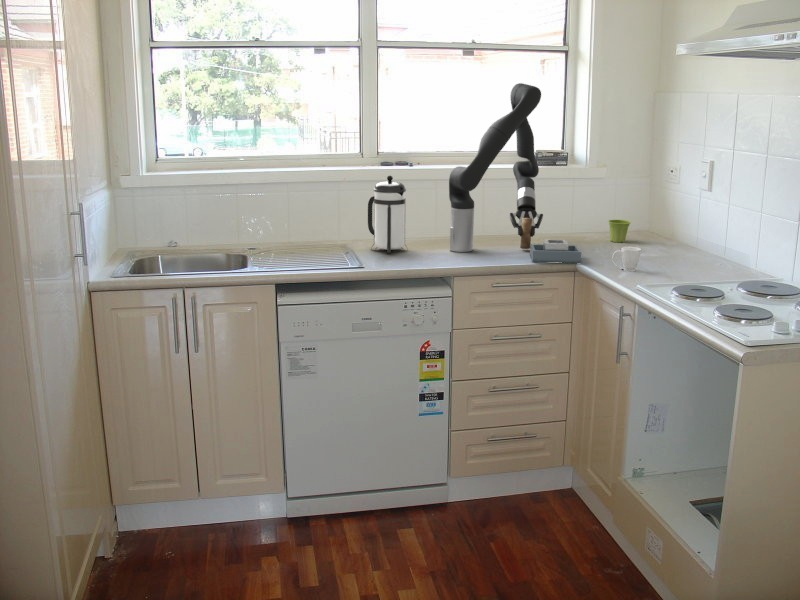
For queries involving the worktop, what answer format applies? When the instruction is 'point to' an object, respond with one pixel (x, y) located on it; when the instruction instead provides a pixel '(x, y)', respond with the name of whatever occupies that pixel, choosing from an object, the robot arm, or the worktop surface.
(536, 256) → the bin
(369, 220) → the coffee press
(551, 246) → the bore block
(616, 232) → the plant pot
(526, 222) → the peg
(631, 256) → the cup
